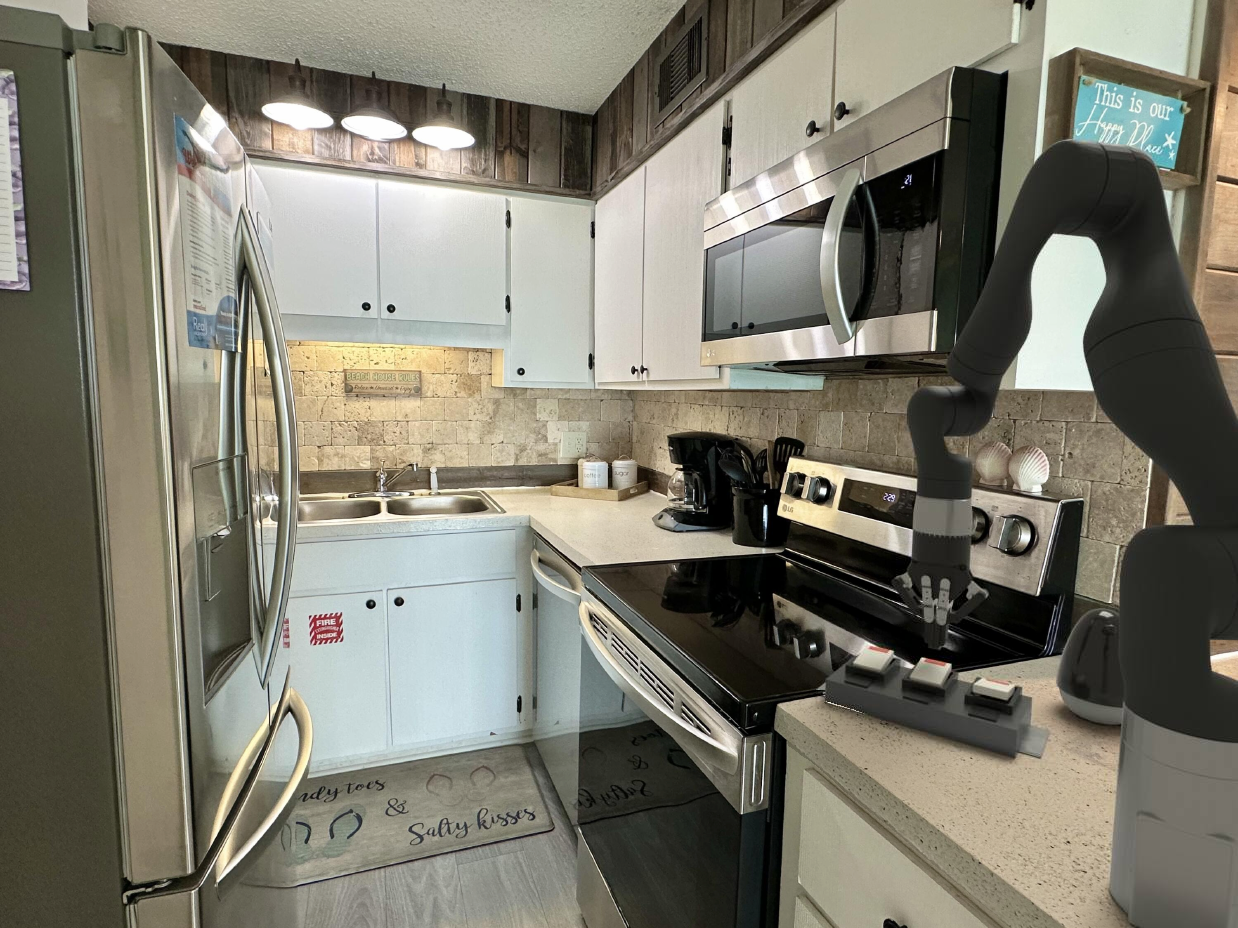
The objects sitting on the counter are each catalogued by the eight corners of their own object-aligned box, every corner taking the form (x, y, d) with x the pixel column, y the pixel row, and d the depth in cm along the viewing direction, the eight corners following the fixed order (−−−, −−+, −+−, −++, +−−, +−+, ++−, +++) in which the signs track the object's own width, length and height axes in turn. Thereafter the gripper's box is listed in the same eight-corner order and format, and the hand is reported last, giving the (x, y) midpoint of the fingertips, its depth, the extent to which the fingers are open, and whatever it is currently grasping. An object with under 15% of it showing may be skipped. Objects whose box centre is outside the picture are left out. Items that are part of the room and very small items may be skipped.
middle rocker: (940, 690, 93) (940, 683, 93) (909, 683, 96) (909, 675, 95) (951, 670, 98) (951, 663, 97) (921, 663, 100) (921, 656, 100)
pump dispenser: (1058, 723, 92) (1065, 614, 91) (1051, 694, 101) (1057, 594, 100) (1152, 741, 87) (1161, 626, 86) (1136, 709, 97) (1144, 604, 95)
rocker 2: (1006, 700, 88) (1007, 691, 88) (972, 691, 90) (973, 683, 91) (1014, 692, 93) (1015, 684, 93) (981, 685, 95) (982, 677, 95)
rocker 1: (880, 675, 98) (880, 668, 98) (853, 668, 101) (852, 662, 100) (893, 656, 103) (893, 650, 102) (867, 650, 105) (866, 644, 105)
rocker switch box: (1038, 764, 82) (1040, 727, 81) (808, 698, 100) (809, 667, 99) (1051, 727, 91) (1053, 694, 91) (839, 672, 109) (840, 644, 109)
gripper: (885, 526, 97) (880, 644, 99) (988, 538, 89) (981, 666, 91) (901, 519, 103) (896, 630, 105) (999, 530, 95) (992, 650, 97)
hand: (935, 647), depth 98 cm, fingers closed
